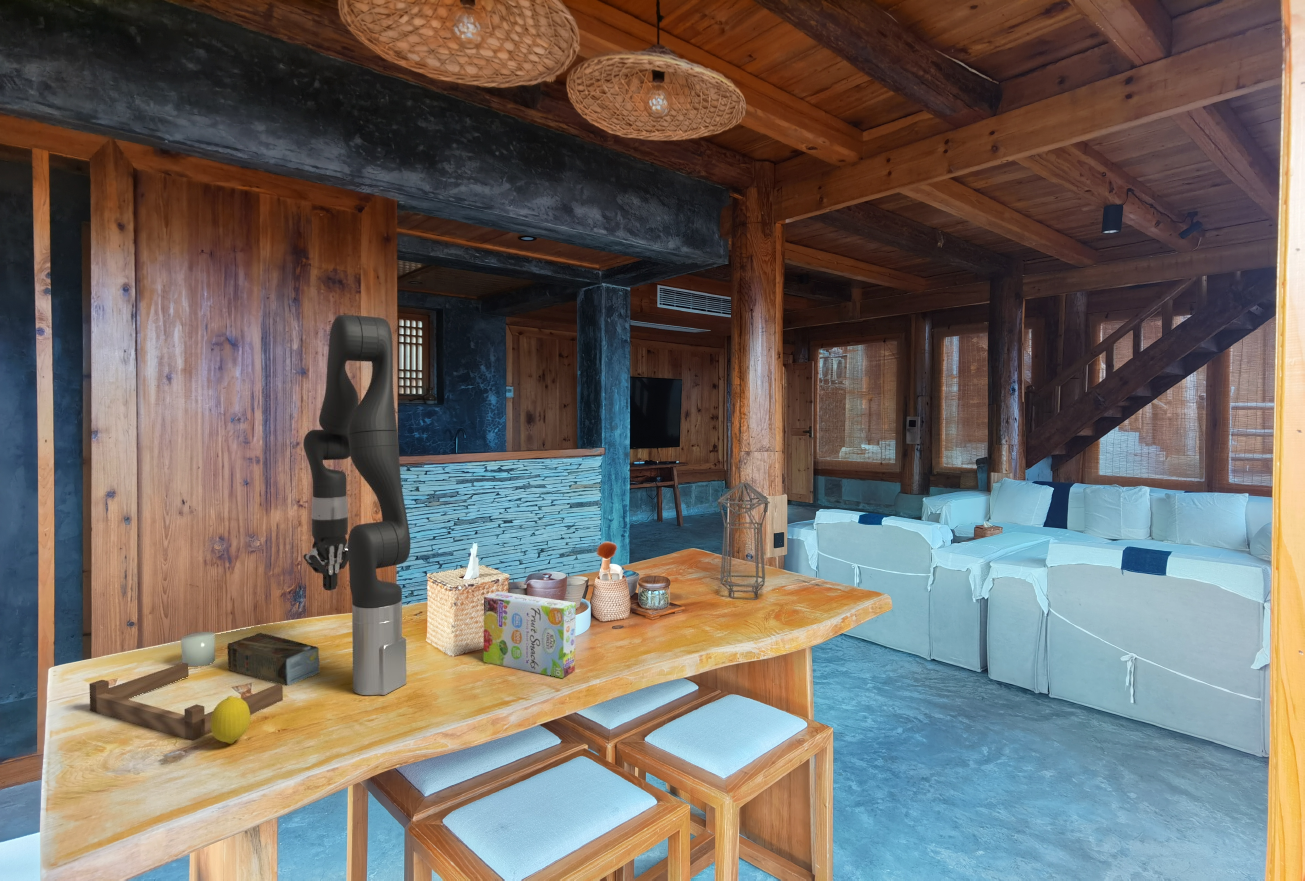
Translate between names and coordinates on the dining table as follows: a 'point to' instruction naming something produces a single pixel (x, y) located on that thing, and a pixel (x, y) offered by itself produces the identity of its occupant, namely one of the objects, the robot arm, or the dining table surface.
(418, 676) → the dining table surface
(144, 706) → the frame
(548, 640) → the snack box
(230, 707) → the lemon
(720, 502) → the geometric lantern
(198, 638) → the grey rounded cylinder
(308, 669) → the beverage carton
